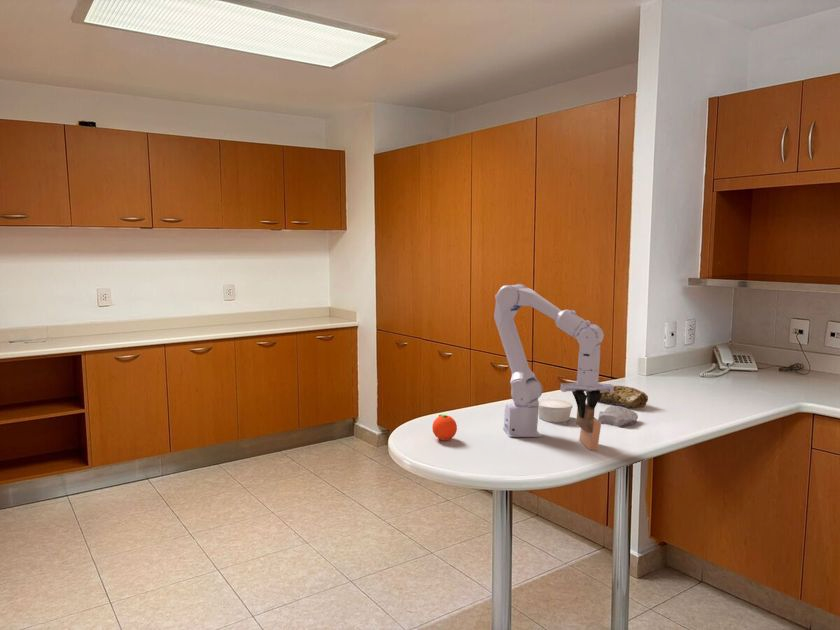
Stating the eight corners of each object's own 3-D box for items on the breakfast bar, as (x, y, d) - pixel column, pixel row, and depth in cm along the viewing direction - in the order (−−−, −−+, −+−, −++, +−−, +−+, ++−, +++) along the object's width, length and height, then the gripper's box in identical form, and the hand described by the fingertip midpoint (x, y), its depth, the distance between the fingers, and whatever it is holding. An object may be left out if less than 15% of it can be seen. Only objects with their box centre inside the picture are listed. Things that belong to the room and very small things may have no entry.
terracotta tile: (589, 450, 166) (594, 421, 165) (579, 440, 174) (583, 413, 173) (597, 450, 167) (601, 422, 166) (586, 441, 174) (590, 414, 174)
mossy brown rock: (649, 410, 216) (605, 387, 231) (652, 391, 213) (607, 368, 228) (623, 421, 209) (580, 396, 225) (626, 401, 206) (582, 377, 222)
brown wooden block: (586, 432, 165) (588, 409, 165) (576, 423, 173) (578, 401, 173) (592, 432, 166) (594, 409, 165) (581, 423, 174) (583, 401, 173)
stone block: (638, 426, 197) (609, 414, 203) (642, 413, 196) (613, 401, 202) (624, 436, 188) (594, 423, 194) (628, 422, 187) (598, 409, 193)
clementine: (426, 435, 174) (427, 411, 173) (447, 433, 176) (449, 409, 176) (438, 444, 166) (439, 419, 166) (460, 442, 169) (461, 417, 168)
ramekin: (529, 418, 195) (530, 402, 194) (546, 412, 204) (547, 396, 203) (561, 426, 188) (562, 409, 187) (577, 419, 197) (578, 403, 196)
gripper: (568, 371, 163) (564, 421, 164) (619, 372, 164) (616, 421, 166) (559, 366, 170) (556, 413, 171) (608, 366, 171) (605, 413, 173)
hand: (585, 416), depth 169 cm, fingers closed on brown wooden block, 2 cm apart
